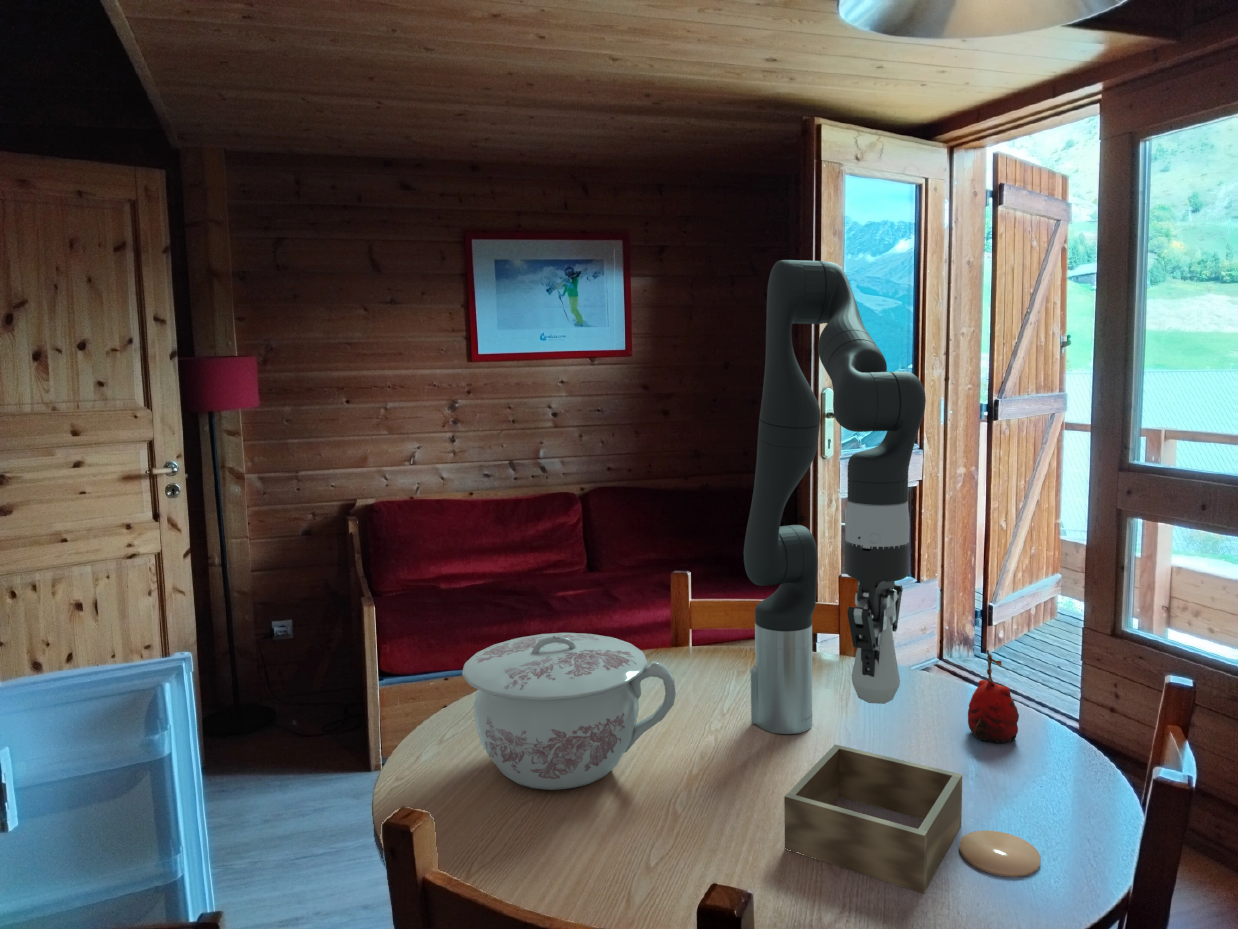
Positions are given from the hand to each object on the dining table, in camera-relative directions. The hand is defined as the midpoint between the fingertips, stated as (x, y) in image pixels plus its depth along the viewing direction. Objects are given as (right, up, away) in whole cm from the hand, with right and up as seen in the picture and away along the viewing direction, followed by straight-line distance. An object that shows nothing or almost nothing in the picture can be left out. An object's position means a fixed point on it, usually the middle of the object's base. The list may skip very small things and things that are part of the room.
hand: (875, 673), depth 109 cm
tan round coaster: (+15, -22, -2) cm, 26 cm away
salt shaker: (0, -3, 0) cm, 3 cm away
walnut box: (+1, -21, +3) cm, 22 cm away
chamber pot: (-41, -20, +24) cm, 51 cm away
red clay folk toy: (+27, -17, +30) cm, 44 cm away
